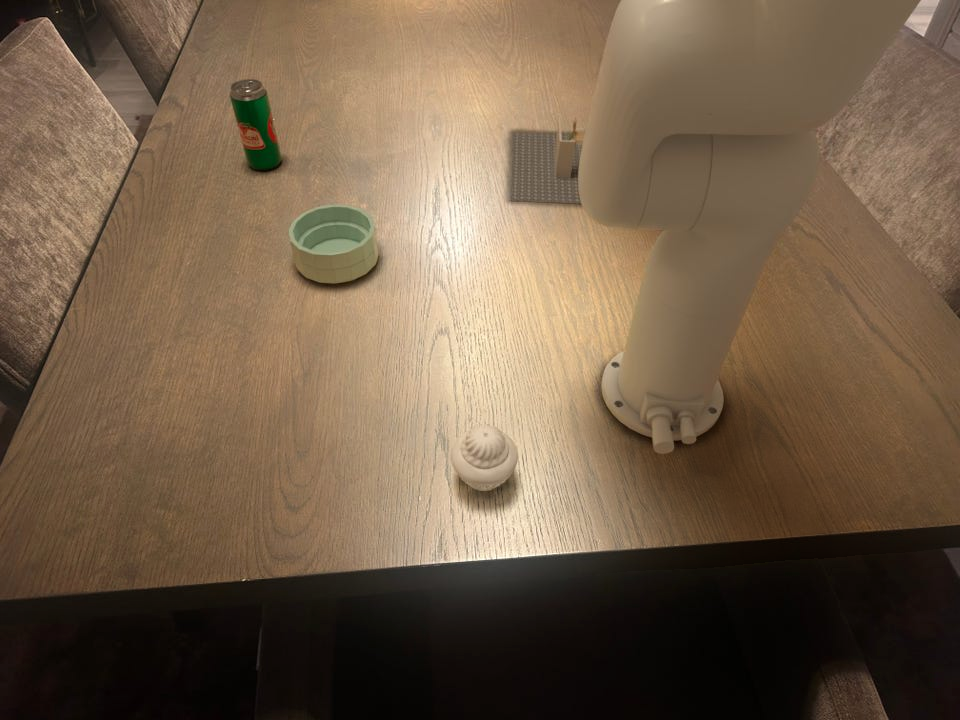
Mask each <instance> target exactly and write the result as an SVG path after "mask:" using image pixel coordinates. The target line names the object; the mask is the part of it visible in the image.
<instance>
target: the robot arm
mask: <svg viewBox="0 0 960 720" xmlns="http://www.w3.org/2000/svg"><path fill="white" fill-rule="evenodd" d="M921 1H922V0H620V2H619V3H618V5H617V7H616V10H615V13H614V15H613V18H612V20H611V24H610V28H609V31H608V34H607V38H606V41H605V45H604V50H603V55H602V59H601V62H600V67H599V72H598V75H597V76H598V77H597V80H596V85H595V88H594V89H595V90H594V94H593V97H592V102H591V106H590V111H589V114H588V119H587V123H586V127H585V131H584V132H585V136H584V140H583V145H582V150H581V155H580V162H579V170H578V190H579V196H580V201H581V204H580V205H581V206H582V208H583V211H584V212H585V213H586V215H587V216H588V217H589V219H590V220H592V221H593V222H594V223H596V224H598V225H600V226H602V227H606V228H609V229H618V230H633V231H635V230H636V231H661V233H660V234H659V236H658V237H657V239H656V240H655V241H654V243H653V245H652V247H651V249H650V251H649V253H648V255H647V259H646V262H645V266H644V270H643V274H642V278H641V281H640V285H639V290H638V293H637V297H636V302H635V305H634V309H633V314H632V317H631V320H630V321H631V322H630V326H629V330H628V334H627V338H626V342H625V346H624V350H623V351H622V350H621V351H620V352H618V353H617V354H616V355H614V356H613V357H612V358H611V359H610V360H609V361H608V363H607V364H606V366H605V367H604V370H603V374H602V378H601V384H600V385H601V386H600V389H601V394H602V398H603V401H604V403H605V405H606V407H607V408H608V410H609V411H610V413H611V414H612V415H613V416H614V418H616V419H617V420H618V421H619V422H620V423H621V424H623V425H624V426H626V427H627V428H628V429H630V430H631V431H634V432H636V433H638V434H640V435H643V436H645V437H648V438H651V440H652V449H653V451H654V452H655V453H657V454H661V455H666V454H667V455H668V454H670V453H672V452H673V451H674V450H675V441H681V442H682V443H683V444H684V445H685V444H686V445H691V444H694V443H696V441H697V437H699V436H701V435H703V434H704V433H706V432H708V431H709V430H710V429H711V428H712V427H714V425H715V424H716V422H717V421H718V419H719V418H720V415H721V414H722V410H723V406H724V403H725V399H724V391H723V388H722V385H721V382H720V381H719V376H720V374H721V371H722V369H723V367H724V364H725V362H726V359H727V357H728V355H729V352H730V350H731V348H732V345H733V342H734V340H735V338H736V335H737V333H738V331H739V328H740V325H741V323H742V321H743V319H744V316H745V313H746V311H747V308H748V306H749V304H750V302H751V299H752V297H753V295H754V292H755V290H756V287H757V285H758V283H759V280H760V278H761V276H762V275H763V274H762V273H763V272H764V269H765V268H766V265H767V263H768V262H769V259H770V257H771V255H772V254H773V251H774V250H775V248H776V247H777V245H778V243H779V242H780V240H781V239H782V238H783V236H784V234H785V233H786V231H787V230H788V229H789V227H790V226H791V225H792V223H793V221H795V219H796V217H797V216H798V215H799V213H800V211H801V210H802V209H803V207H804V206H805V204H806V202H807V200H808V198H809V196H810V194H811V193H812V192H811V191H812V190H813V187H814V184H815V181H816V180H817V175H818V172H819V167H820V158H821V157H820V153H821V152H820V144H819V140H818V136H817V134H816V132H815V130H816V129H818V128H820V127H823V126H824V125H826V124H827V123H829V122H830V121H831V120H833V119H834V118H835V117H836V116H837V115H839V113H840V112H841V111H842V110H843V109H844V108H845V107H846V106H847V104H848V103H849V102H850V100H852V99H853V97H854V96H855V95H856V93H857V92H858V90H859V89H860V88H861V87H862V85H863V84H864V83H865V81H866V80H867V78H868V77H869V76H870V74H871V73H872V71H873V70H874V68H875V67H876V65H877V64H878V62H879V61H880V59H881V58H882V57H883V55H884V54H885V53H886V51H887V49H889V47H890V45H891V44H892V43H893V41H894V40H895V38H896V37H897V35H898V34H899V33H900V31H901V30H902V29H903V27H904V25H906V22H908V20H909V18H910V17H911V16H912V15H913V12H914V11H915V10H916V8H917V7H918V5H919V4H920V3H921Z"/></svg>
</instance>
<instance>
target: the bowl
mask: <svg viewBox="0 0 960 720" xmlns="http://www.w3.org/2000/svg"><path fill="white" fill-rule="evenodd" d="M287 233H288V238H289V241H290V242H289V243H290V246H291V250H292V255H293V259H294V263H295V268H296V270H297V271H298V272H299V273H300V274H301V275H302V276H304V277H305V278H306V279H309V280H312V281H314V282H317V283H320V284H334V285H335V284H342V283H347V282H352V281H355V280H356V279H358V278H361V277H363V276H365V275H366V274H368V273H369V272H370V271H371V270H372V269H373V268H374V267H375V266H376V265H377V261H378V258H379V245H378V244H379V243H378V235H377V227H376V224H375V220H374V218H373V216H372V215H371V214H369V213H368V212H367V211H365V210H364V209H362V208H359V207H357V206H353V205H350V204H341V203H340V204H338V203H332V204H331V203H330V204H326V205H320V206H316V207H313V208H311V209H309V210H306V211H303V212H302V213H301V214H300V215H298V216H297V217H296V218H295V219H294V220H292V222H291V224H290V225H289V228H288V230H287Z"/></svg>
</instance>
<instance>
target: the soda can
mask: <svg viewBox="0 0 960 720" xmlns="http://www.w3.org/2000/svg"><path fill="white" fill-rule="evenodd" d="M229 99H230V103H231V106H232V110H233V113H234V118H235V121H236V125H237V129H238V132H239V138H240V142H241V144H242V147H243V153H244V156H245V160H246V162H247V165H248V166H249V167H250V168H252V169H254V170H256V171H270V170H273V169H275V168H277V167H278V166H279V165H280V164H281V162H282V159H283V158H282V154H281V148H280V145H279V140H278V136H277V130H276V125H275V122H274V117H273V113H272V112H273V111H272V108H271V103H270V100H269V99H270V98H269V95H268V90H267V89H266V88H265V87H264V85H263V82H262V81H261V80H258V79H254V78H253V79H252V78H246V79H240V80H237V81H235V82H233V83H231V85H230V92H229Z"/></svg>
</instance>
